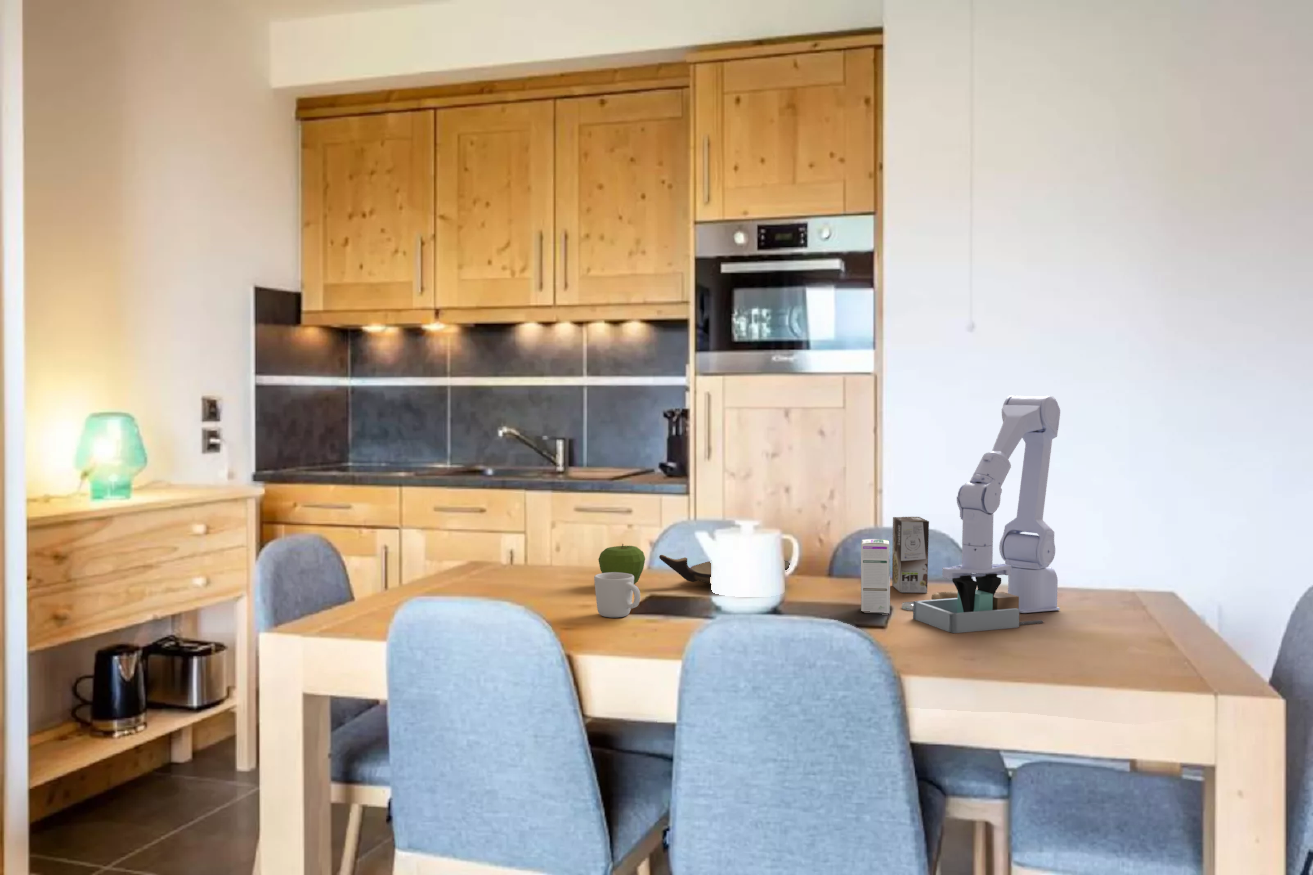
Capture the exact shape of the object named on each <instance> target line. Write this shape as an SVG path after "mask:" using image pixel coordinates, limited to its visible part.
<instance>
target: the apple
mask: <svg viewBox="0 0 1313 875" xmlns="http://www.w3.org/2000/svg"><path fill="white" fill-rule="evenodd" d="M597 560H598V565H599V569H600V572H601V573H611V572H618V573H628V574H632V575H633V576H634V585H636V584H637V582H639V579H640V577H641V576H642V573H643V570H644V567H645V562H646V557H645V554H644V552H643V550H641V549H640V548H639V547H637V546H634V545H624V543H622V544H621V545H615V546H610V547H607V548H605V549H604V550H603V551H601V552H600V554H599V557H598V559H597Z"/></svg>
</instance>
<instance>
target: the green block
mask: <svg viewBox="0 0 1313 875" xmlns="http://www.w3.org/2000/svg"><path fill="white" fill-rule="evenodd" d="M992 607H993V594H991V593H987V592H984V591H981V590H978V588H976V592H975V597H974V611H973V612H975V611H988V610H992ZM963 612H964V611H963V607H962V602H961V599H960V596H959V593H958V598H957V613H963Z"/></svg>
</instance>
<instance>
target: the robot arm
mask: <svg viewBox="0 0 1313 875" xmlns="http://www.w3.org/2000/svg"><path fill="white" fill-rule="evenodd" d="M1004 400H1005V401H1004V402H1003V405H1002V408H1001V420H1002V425H1001V428H1000V430H999V433H998V435H997V438H996V440H995V443H994V444H993V448H992V450H991V451H988V452H986V453H984V454H983V455H982V457H981V459H980V460H979V463H978V464H977V467H976V468H975V470H974V472H973V474H972V477H971V478H970V480H969V482H968V481H967V482H966V483H964V484H962V485H961V486H960V488H958V492H957V496H956V505H957V507H958V509H959V517H960V520H961V521H962V529H961V530H962V532H961V533H962V536H961V538H962V540H961V541H962V543H961V563H960V564H958V565H954V566H948V567H942V571H941V572H942V576H941V577H942V578H943V579H946V580H951V581H952V583H953V584H954V586H955V588H956V591H958V593H959V596H960V599H961V602H962V607H963V611H964V612H973V611H974V597H975V592H976V589H977V590H981V591H984V592H987V593H991V594H993V596H994V594H995V592H997V590H998V588H999V587H1000V586H1001V584H1002V578H1001V577H999V576H1008V577H1007V593H1008V594H1012V595H1015V596H1019V613H1022V614H1027V613H1029V614H1030V613H1041V612H1050V611H1052V612H1053V611H1060V607H1059V606H1058V589H1059V588H1058V586H1059V585H1058V581H1059V580H1058V576H1057V573H1056V571H1055V569H1054V568H1053V567H1052V566H1050V565H1051V564H1052V562H1053V561H1054V559H1055V555H1056V545H1055V531H1054V530H1053V528H1052V527H1050V526H1049V525H1048V524H1047V523H1046V521H1044V512H1045V505H1046V504H1045V503H1046V496H1047V487H1048V478H1049V469H1050V462H1051V455H1052V454H1051V453H1052V445H1053V439H1055V438H1057V437H1058V432H1059V427H1060V426H1059V425H1060V419H1061V418H1060V417H1061V409H1060V408H1061V407H1060V406H1059V404H1058V400H1057V399H1056V398H1055V397H1054V396H1052V395H1046V396H1044V395H1043V396H1036V395H1033V396H1031V395H1027V396H1026V395H1025V396H1024V395H1009V396H1007V398H1006V399H1004ZM1022 439H1023V441H1024V442H1025V448H1024V454H1023V461H1022V462H1023V463H1022V470H1021V477H1020V478H1021V479H1020V486H1019V495H1018V503H1017V509H1016V510H1017V511H1016V517H1015V518H1014V519H1013V520H1012V519H1011V521H1009V522H1008V523H1006V524H1005V525H1004V529H1003V534H1002V536H1001V539H1000V542H999V545H998V546H999V555H1000V557H1001V559H1002V560H1003V561H1005V562H1004V563H1000V564H999V563H994V564H993V556H994V554H993V550H994V548H993V547H994V513H995V512H996V511H997V510H998V508H999V507H1000V503H1001V495H1002V493H1003V489H1002V485H1003V484H1004V481H1005V480H1006V477H1007V476H1008V474H1009V472H1010V469H1011V468H1012V465H1011V462H1010V460H1009V459H1010V457H1011V456H1012V454H1013V453H1014V451H1015V450H1016V447H1017V446H1018V444H1020V442H1021V440H1022ZM1026 533H1032V534H1026ZM974 577H975V580H974V579H973V578H974Z"/></svg>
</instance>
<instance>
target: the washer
mask: <svg viewBox="0 0 1313 875" xmlns="http://www.w3.org/2000/svg"><path fill="white" fill-rule="evenodd" d="M901 609H902V610H905V611H910V612H913V601H905V602H902V603H901Z"/></svg>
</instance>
